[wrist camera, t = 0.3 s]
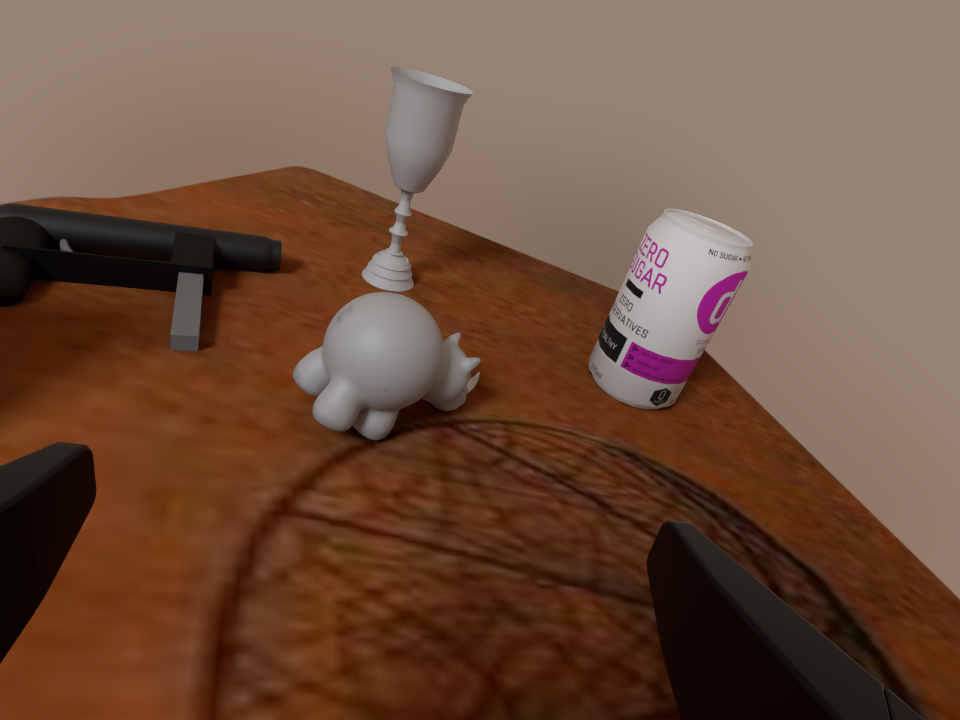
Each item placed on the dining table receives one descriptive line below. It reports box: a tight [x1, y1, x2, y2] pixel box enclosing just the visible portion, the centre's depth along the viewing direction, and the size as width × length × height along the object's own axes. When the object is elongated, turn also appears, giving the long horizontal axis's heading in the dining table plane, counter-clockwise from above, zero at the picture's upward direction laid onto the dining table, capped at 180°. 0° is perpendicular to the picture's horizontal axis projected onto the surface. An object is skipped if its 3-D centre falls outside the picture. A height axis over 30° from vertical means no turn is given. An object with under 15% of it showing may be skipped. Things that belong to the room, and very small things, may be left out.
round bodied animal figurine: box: [293, 292, 481, 440], centre depth 37 cm, size 7×12×8 cm, turn 118°
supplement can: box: [588, 209, 753, 410], centre depth 48 cm, size 8×8×15 cm
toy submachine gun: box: [0, 204, 281, 351], centre depth 43 cm, size 3×20×16 cm
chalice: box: [362, 67, 473, 292], centre depth 52 cm, size 7×7×18 cm
